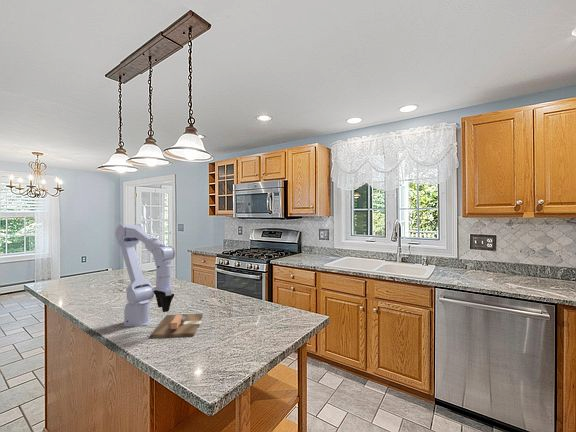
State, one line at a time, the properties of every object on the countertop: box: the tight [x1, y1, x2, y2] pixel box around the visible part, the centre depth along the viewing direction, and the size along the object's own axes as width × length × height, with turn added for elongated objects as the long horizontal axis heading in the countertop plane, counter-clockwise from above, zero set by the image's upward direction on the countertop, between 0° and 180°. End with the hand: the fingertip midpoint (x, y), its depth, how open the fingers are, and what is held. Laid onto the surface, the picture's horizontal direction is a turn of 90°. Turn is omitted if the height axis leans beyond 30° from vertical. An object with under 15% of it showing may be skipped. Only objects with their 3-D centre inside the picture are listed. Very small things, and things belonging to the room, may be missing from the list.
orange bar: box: [171, 314, 186, 329], centre depth 117 cm, size 12×5×2 cm, turn 9°
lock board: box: [150, 313, 203, 339], centre depth 120 cm, size 17×22×2 cm
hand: (163, 309), depth 116 cm, fingers open, 6 cm apart
